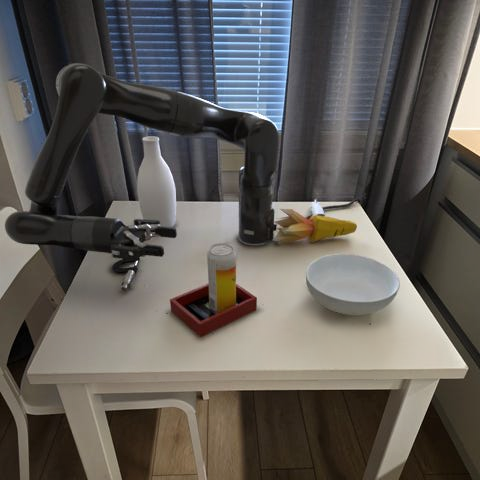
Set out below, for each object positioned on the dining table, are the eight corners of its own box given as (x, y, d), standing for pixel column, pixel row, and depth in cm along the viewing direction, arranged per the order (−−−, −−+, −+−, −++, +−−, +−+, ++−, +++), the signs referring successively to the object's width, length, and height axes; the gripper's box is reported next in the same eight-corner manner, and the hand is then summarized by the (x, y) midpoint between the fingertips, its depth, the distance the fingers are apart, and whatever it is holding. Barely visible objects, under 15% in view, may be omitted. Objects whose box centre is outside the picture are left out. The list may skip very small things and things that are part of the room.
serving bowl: (409, 322, 99) (417, 297, 95) (318, 332, 96) (321, 306, 92) (372, 273, 115) (377, 249, 111) (293, 280, 112) (295, 256, 108)
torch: (350, 249, 133) (269, 246, 127) (345, 227, 136) (266, 223, 130) (363, 233, 125) (277, 229, 120) (357, 210, 129) (273, 205, 123)
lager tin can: (241, 306, 103) (241, 248, 94) (222, 318, 100) (221, 259, 91) (222, 296, 107) (221, 239, 97) (204, 307, 103) (200, 249, 94)
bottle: (134, 226, 136) (120, 139, 121) (159, 214, 143) (150, 130, 128) (161, 236, 131) (151, 146, 116) (186, 222, 138) (179, 136, 123)
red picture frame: (225, 288, 109) (225, 276, 107) (256, 310, 102) (257, 297, 100) (171, 312, 102) (169, 299, 99) (200, 337, 94) (199, 324, 92)
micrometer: (116, 260, 120) (115, 252, 118) (143, 261, 120) (141, 253, 118) (99, 291, 108) (97, 283, 106) (129, 293, 108) (127, 284, 106)
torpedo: (329, 232, 134) (332, 211, 130) (313, 231, 134) (316, 211, 130) (321, 207, 148) (323, 188, 144) (306, 207, 148) (308, 187, 144)
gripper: (79, 233, 90) (157, 241, 88) (109, 205, 101) (178, 211, 99) (87, 265, 94) (160, 274, 92) (114, 235, 106) (181, 242, 103)
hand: (170, 241), depth 95 cm, fingers open, 8 cm apart
